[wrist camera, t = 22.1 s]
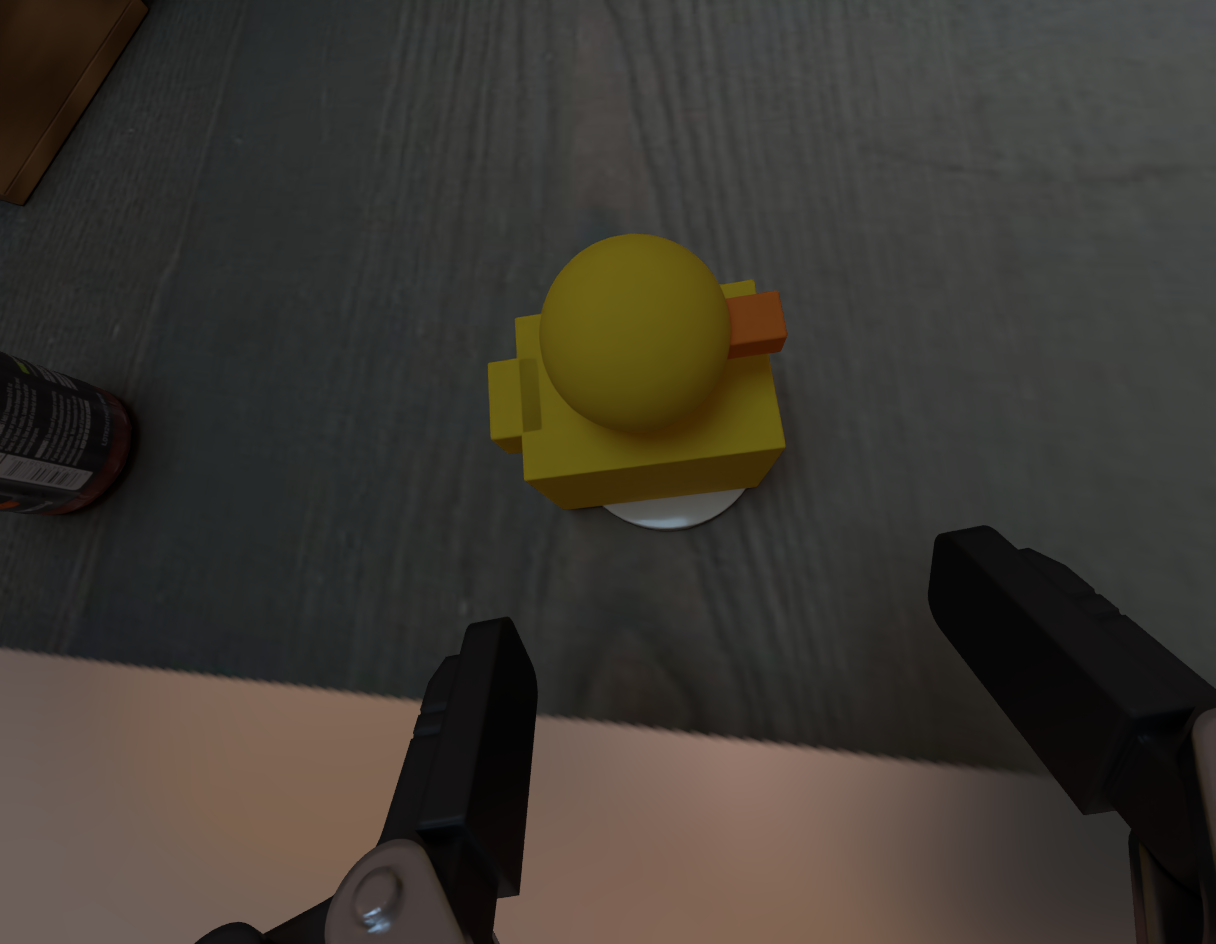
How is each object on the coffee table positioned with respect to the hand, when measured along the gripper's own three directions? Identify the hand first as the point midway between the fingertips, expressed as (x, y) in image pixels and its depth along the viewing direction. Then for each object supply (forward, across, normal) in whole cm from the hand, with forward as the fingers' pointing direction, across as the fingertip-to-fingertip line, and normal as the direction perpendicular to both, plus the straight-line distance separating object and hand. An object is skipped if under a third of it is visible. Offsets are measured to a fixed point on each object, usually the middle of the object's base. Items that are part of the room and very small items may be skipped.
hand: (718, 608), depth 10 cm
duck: (+10, 0, +1) cm, 10 cm away
